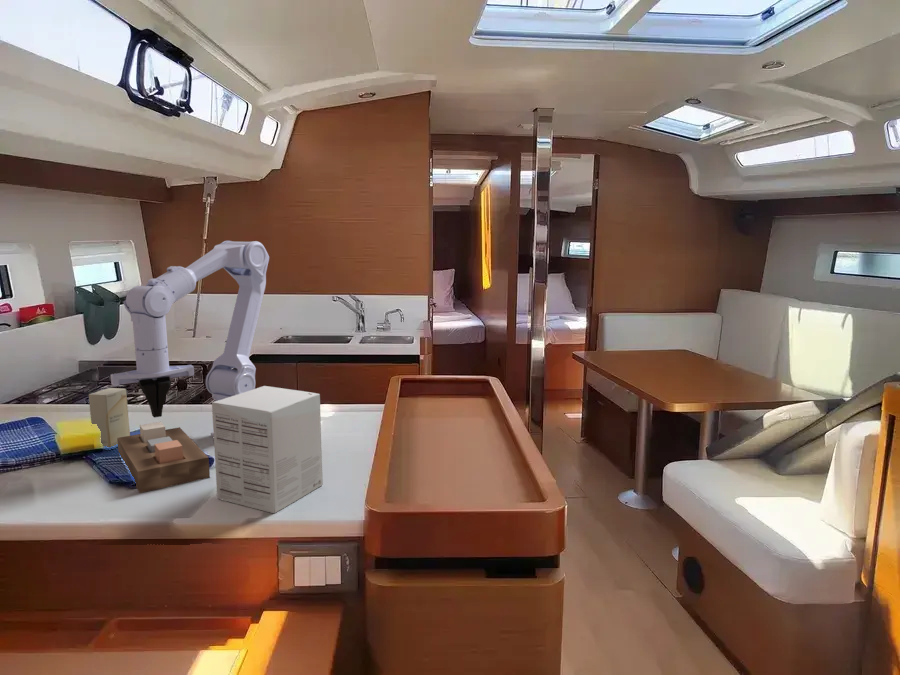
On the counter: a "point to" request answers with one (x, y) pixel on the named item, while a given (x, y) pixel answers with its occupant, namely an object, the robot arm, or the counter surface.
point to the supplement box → (267, 447)
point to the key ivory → (152, 431)
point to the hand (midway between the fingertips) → (156, 415)
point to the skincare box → (110, 414)
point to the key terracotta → (168, 452)
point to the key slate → (155, 441)
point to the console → (167, 473)
